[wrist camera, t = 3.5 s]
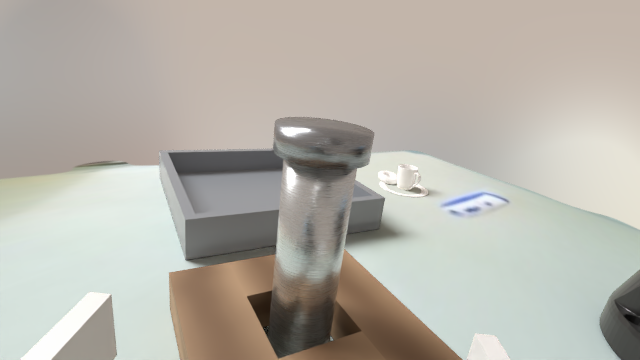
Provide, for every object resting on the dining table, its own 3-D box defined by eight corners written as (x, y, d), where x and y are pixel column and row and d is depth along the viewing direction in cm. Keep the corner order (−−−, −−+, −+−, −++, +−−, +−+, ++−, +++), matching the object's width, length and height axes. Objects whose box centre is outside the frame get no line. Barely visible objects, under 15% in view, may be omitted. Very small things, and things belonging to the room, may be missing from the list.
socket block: (333, 271, 32) (337, 243, 31) (452, 401, 21) (465, 362, 20) (169, 307, 25) (168, 272, 24) (214, 528, 14) (215, 479, 13)
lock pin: (313, 314, 27) (340, 118, 22) (351, 367, 22) (395, 138, 17) (247, 333, 24) (260, 115, 19) (275, 397, 20) (301, 138, 15)
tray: (300, 170, 60) (302, 148, 59) (379, 228, 42) (384, 198, 41) (159, 178, 49) (159, 150, 48) (185, 260, 31) (185, 219, 30)
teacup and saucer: (370, 179, 61) (374, 157, 60) (411, 181, 63) (416, 159, 62) (390, 199, 53) (395, 173, 52) (436, 200, 55) (442, 176, 54)
